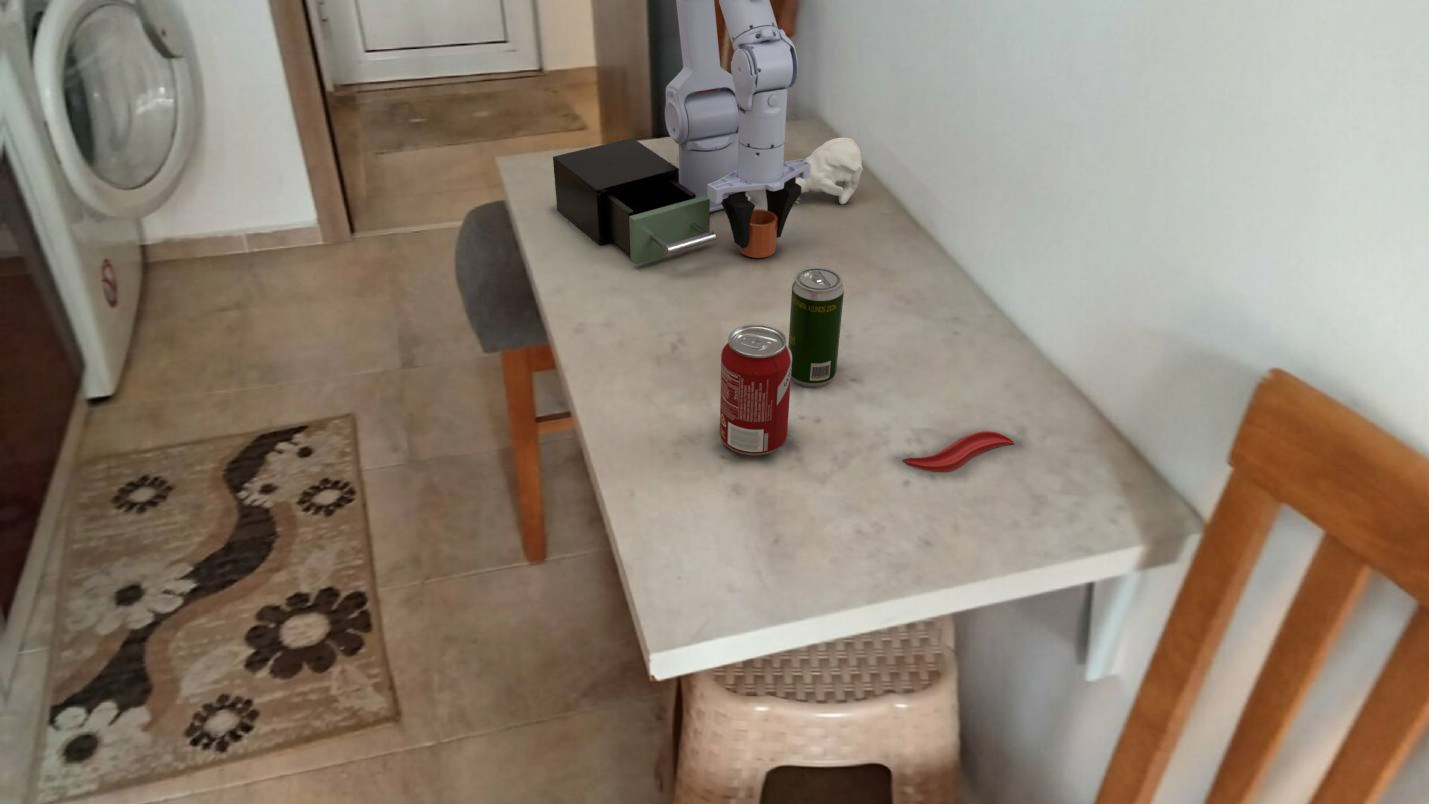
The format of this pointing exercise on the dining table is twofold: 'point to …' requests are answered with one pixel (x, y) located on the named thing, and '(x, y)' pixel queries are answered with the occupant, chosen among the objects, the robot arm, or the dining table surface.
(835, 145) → the white lumpy figure
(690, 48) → the robot arm
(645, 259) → the green drawer
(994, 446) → the cayenne pepper
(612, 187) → the drawer cabinet
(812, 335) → the beer can
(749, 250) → the cup
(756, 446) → the soda can
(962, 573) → the dining table surface
